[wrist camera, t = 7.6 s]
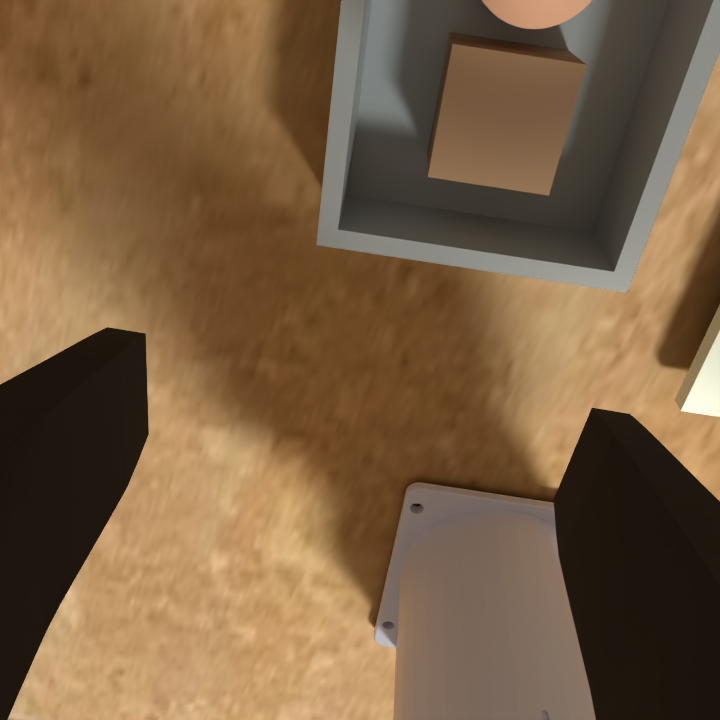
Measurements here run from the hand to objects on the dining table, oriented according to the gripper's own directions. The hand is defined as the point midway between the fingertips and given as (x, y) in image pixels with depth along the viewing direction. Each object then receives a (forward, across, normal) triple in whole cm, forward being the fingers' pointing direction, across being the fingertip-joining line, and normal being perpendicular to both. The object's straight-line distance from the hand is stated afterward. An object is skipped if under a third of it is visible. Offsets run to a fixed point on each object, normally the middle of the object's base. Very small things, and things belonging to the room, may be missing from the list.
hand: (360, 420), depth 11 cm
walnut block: (+10, -2, -3) cm, 11 cm away
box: (+10, -2, -5) cm, 12 cm away
